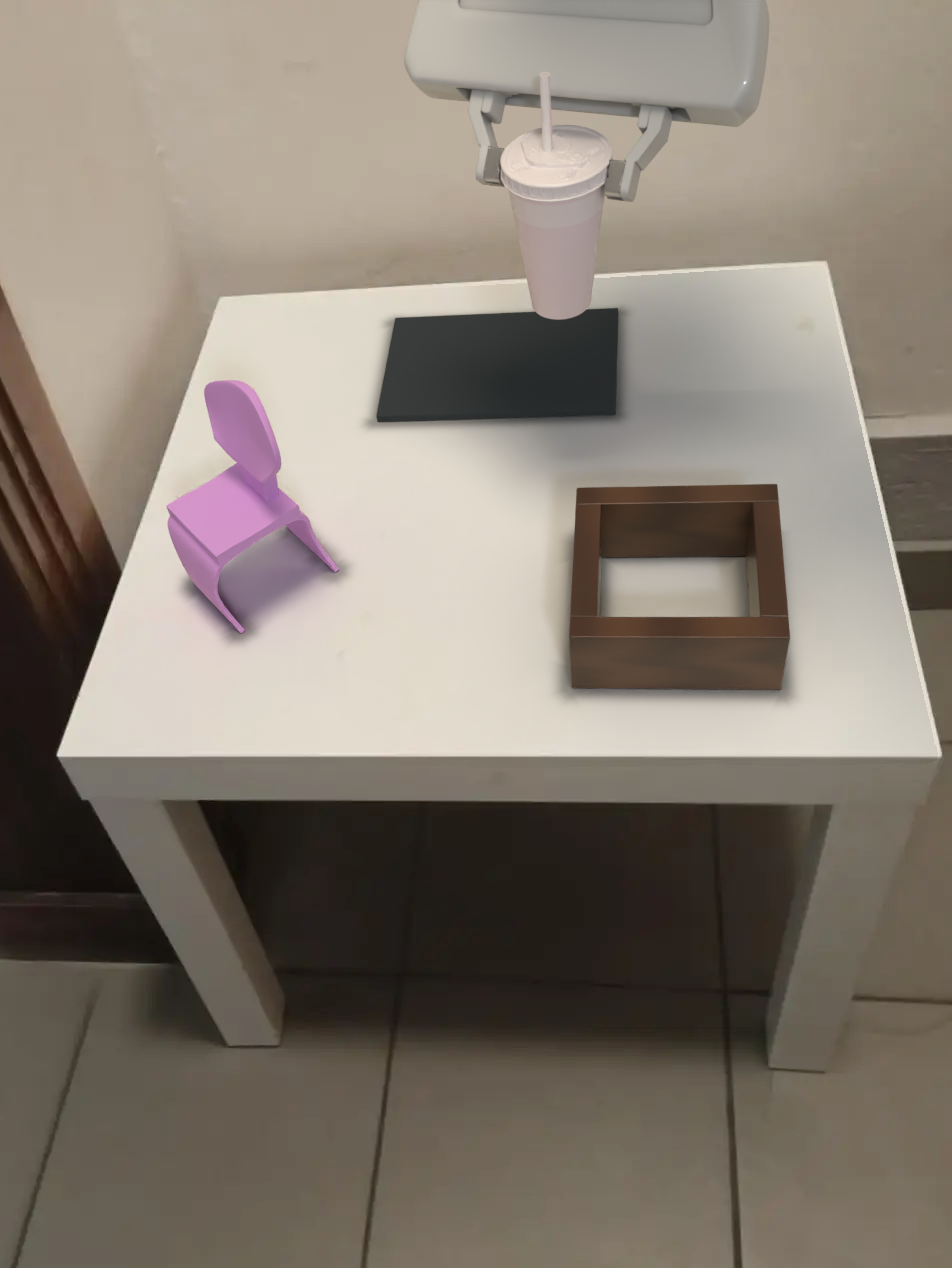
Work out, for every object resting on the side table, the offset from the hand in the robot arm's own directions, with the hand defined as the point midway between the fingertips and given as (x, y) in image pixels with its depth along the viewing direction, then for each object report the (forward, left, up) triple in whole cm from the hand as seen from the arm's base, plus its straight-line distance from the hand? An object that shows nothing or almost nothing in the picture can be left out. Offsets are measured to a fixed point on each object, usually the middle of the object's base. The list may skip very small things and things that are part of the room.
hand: (554, 191), depth 70 cm
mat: (+6, -12, -22) cm, 26 cm away
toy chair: (+21, +10, -22) cm, 32 cm away
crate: (-7, +13, -22) cm, 26 cm away
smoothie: (0, -1, -8) cm, 8 cm away
